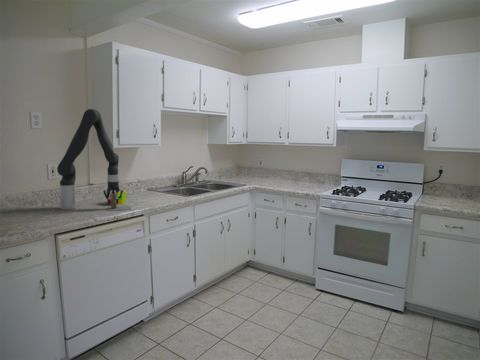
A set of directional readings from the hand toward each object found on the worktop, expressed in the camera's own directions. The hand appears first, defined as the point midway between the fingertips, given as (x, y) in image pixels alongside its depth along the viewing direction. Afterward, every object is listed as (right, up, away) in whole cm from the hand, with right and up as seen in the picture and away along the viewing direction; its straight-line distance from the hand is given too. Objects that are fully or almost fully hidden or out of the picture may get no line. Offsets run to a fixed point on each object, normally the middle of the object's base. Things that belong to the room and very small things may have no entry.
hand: (113, 203), depth 237 cm
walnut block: (0, -2, 0) cm, 2 cm away
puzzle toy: (-5, -1, +18) cm, 18 cm away
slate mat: (+4, -4, +2) cm, 5 cm away
